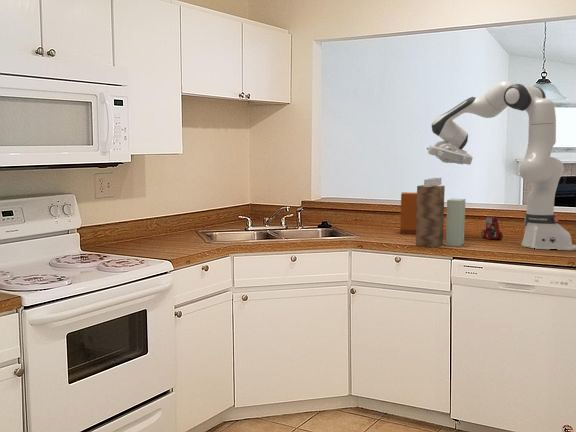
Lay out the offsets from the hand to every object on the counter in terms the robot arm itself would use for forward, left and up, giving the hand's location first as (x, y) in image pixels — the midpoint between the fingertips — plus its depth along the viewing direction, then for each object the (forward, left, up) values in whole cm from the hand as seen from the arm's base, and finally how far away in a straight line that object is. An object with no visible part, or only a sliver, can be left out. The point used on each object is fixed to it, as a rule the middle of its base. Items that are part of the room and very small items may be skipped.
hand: (453, 157), depth 308 cm
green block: (-4, +8, -38) cm, 39 cm away
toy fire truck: (-16, -18, -39) cm, 45 cm away
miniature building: (+24, -21, -39) cm, 50 cm away
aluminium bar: (+6, +11, -12) cm, 18 cm away
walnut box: (+6, +14, -38) cm, 41 cm away
